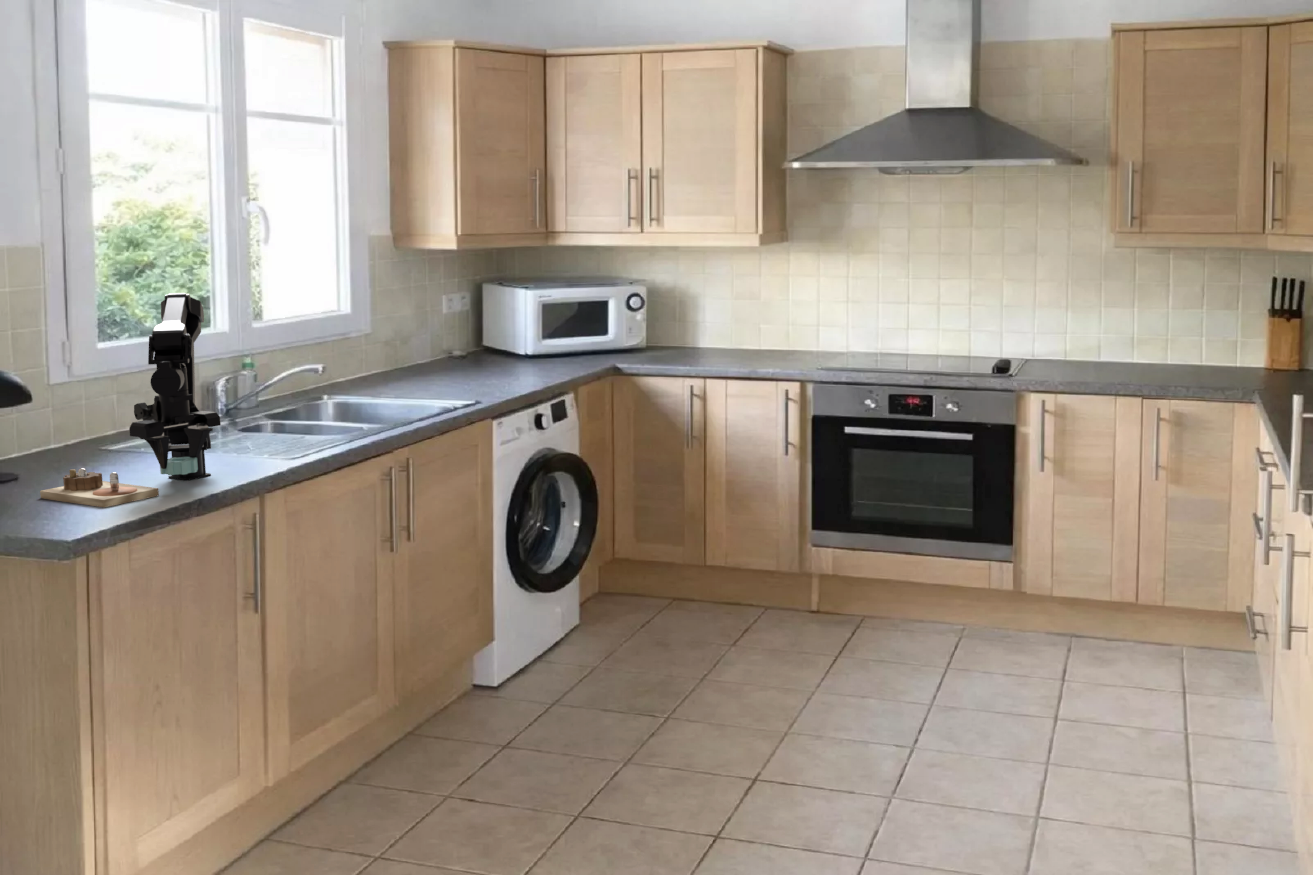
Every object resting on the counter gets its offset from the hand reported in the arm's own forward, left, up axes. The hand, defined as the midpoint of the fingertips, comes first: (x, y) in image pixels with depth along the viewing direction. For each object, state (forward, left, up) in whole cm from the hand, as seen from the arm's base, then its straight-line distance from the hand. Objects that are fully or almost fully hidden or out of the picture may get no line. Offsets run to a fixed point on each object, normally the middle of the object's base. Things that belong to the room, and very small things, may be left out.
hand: (178, 465), depth 294 cm
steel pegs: (+12, -10, -4) cm, 16 cm away
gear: (+12, -15, -4) cm, 20 cm away
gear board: (+12, -10, -5) cm, 16 cm away
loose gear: (0, 0, -1) cm, 1 cm away
